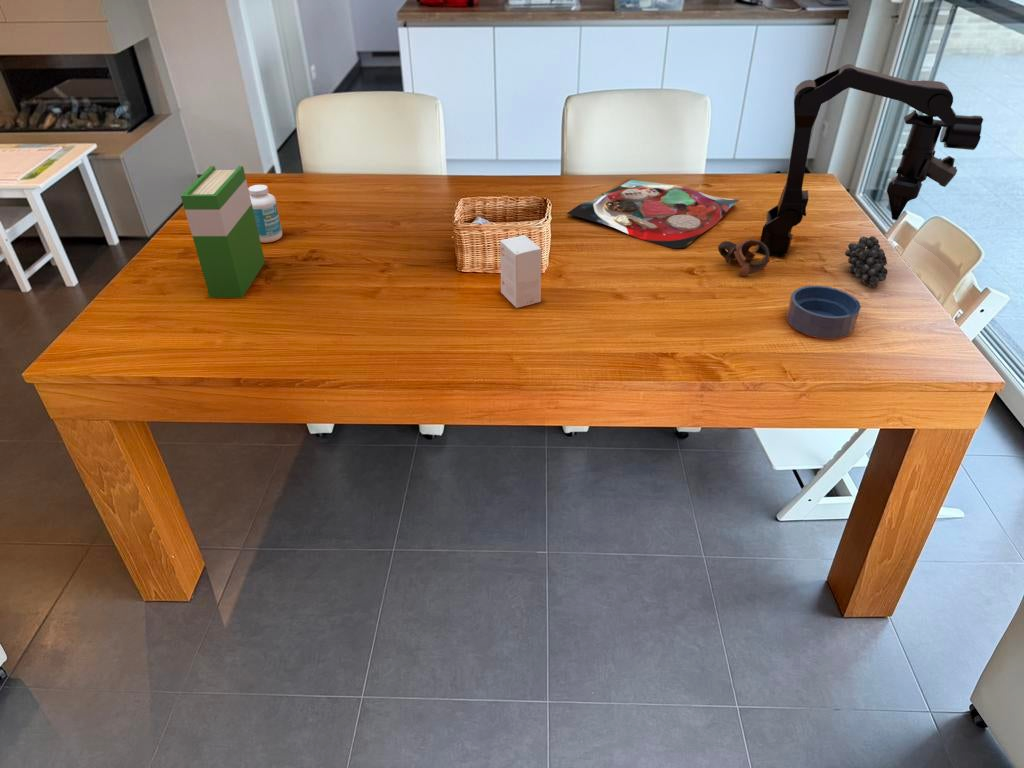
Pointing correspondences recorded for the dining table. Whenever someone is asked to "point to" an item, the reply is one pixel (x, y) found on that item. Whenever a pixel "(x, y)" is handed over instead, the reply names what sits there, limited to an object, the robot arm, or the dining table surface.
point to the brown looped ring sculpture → (744, 255)
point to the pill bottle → (265, 213)
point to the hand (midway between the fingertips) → (898, 212)
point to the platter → (656, 212)
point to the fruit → (867, 261)
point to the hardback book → (224, 231)
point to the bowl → (823, 312)
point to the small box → (520, 271)
